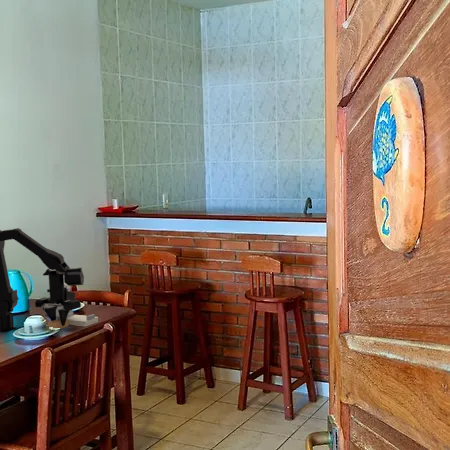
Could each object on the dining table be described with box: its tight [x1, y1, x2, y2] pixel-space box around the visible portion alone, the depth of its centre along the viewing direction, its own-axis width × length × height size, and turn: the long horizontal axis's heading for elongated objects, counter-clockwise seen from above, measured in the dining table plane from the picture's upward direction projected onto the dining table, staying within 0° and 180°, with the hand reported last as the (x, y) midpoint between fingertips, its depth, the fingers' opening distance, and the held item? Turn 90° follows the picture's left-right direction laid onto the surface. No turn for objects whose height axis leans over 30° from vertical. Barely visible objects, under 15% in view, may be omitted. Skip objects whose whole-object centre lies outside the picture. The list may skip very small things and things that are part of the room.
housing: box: [47, 316, 69, 330], centre depth 245 cm, size 7×4×4 cm, turn 153°
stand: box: [67, 311, 99, 327], centre depth 252 cm, size 8×12×4 cm, turn 63°
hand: (59, 325), depth 246 cm, fingers closed on housing, 4 cm apart
